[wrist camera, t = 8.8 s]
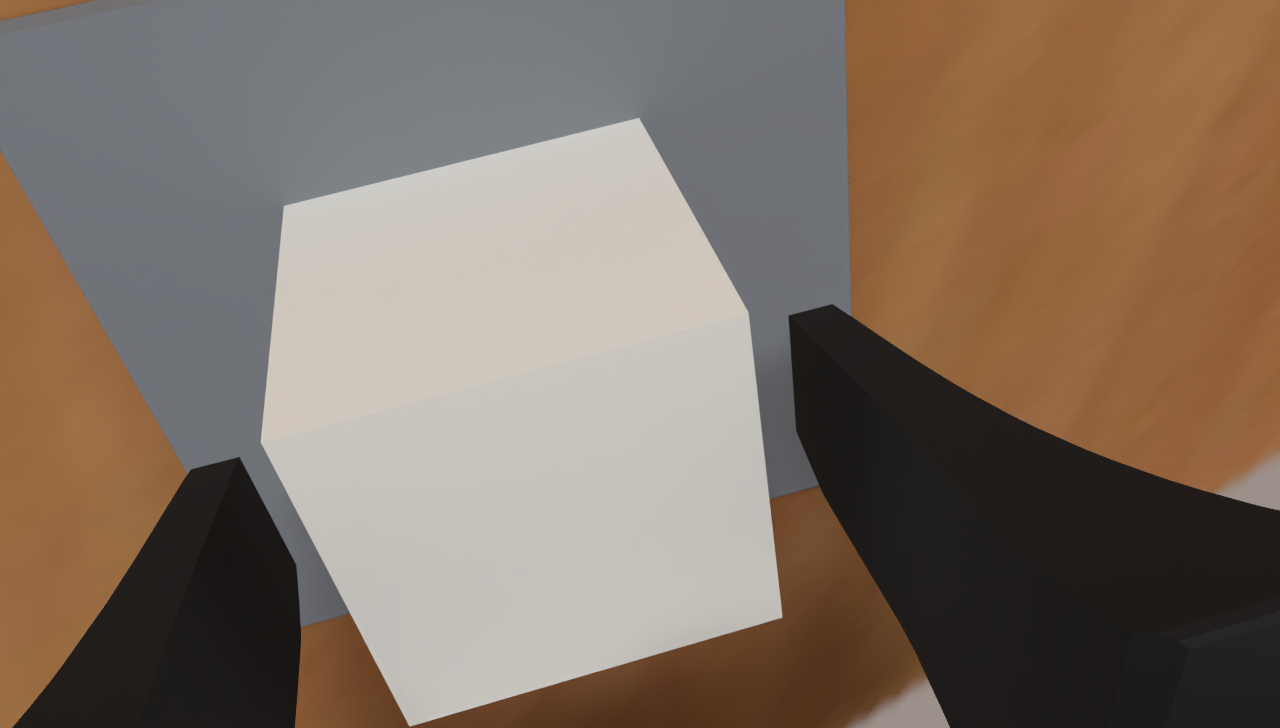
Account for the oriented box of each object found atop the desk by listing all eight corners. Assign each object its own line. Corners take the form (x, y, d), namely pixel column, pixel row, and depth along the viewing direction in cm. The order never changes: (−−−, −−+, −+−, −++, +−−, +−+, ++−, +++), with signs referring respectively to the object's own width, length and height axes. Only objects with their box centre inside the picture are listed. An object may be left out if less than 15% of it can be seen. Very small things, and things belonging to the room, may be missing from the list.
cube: (684, 389, 18) (782, 617, 14) (394, 468, 17) (409, 726, 13) (639, 118, 14) (748, 311, 11) (284, 206, 14) (260, 442, 10)
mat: (842, 455, 20) (854, 475, 20) (280, 607, 19) (279, 633, 19) (824, -156, 13) (841, -147, 13) (-45, 30, 12) (-59, 47, 12)
